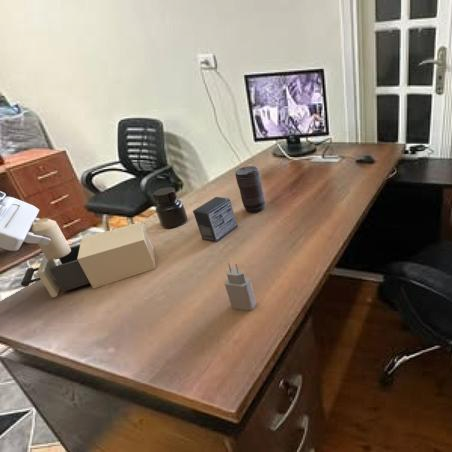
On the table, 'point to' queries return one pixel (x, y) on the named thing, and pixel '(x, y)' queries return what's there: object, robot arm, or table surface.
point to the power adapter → (239, 290)
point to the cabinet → (116, 254)
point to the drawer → (58, 273)
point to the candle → (57, 243)
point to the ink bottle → (169, 208)
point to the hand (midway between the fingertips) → (51, 235)
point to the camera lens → (250, 188)
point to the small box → (215, 219)
